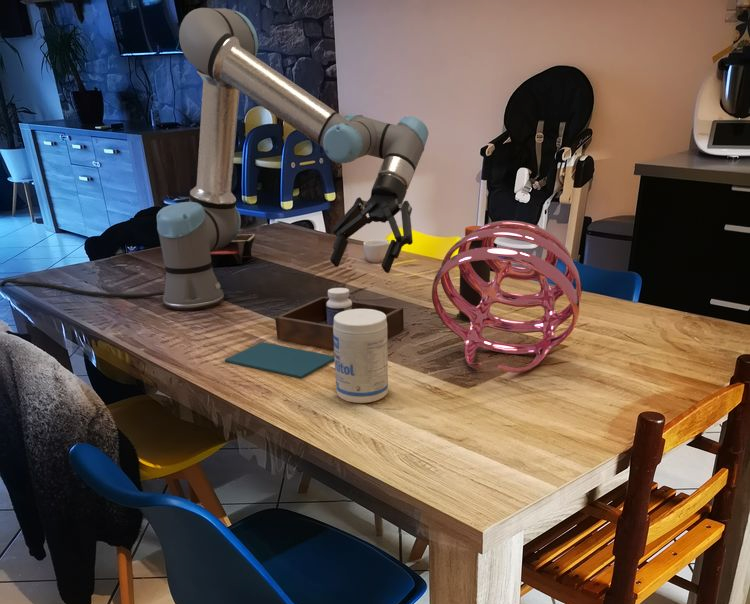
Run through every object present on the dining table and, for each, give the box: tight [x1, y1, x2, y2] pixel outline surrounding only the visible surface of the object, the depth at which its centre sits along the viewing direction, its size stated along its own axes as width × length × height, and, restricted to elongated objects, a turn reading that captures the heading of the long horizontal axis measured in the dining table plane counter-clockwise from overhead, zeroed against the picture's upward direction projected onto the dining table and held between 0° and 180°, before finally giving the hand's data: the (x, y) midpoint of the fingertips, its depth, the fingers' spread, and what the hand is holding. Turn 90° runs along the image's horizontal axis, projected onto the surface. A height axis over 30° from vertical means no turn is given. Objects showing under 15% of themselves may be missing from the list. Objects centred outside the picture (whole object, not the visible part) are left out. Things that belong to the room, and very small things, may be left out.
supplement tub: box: [333, 309, 389, 404], centre depth 134 cm, size 10×10×15 cm
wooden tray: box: [274, 295, 405, 351], centre depth 166 cm, size 22×18×5 cm
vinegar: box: [458, 225, 491, 322], centre depth 169 cm, size 7×7×20 cm
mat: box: [224, 341, 335, 379], centre depth 154 cm, size 20×12×1 cm, turn 57°
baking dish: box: [210, 233, 256, 267], centre depth 228 cm, size 14×18×10 cm
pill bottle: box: [326, 287, 353, 326], centre depth 164 cm, size 6×6×10 cm
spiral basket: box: [431, 220, 583, 374], centre depth 142 cm, size 28×28×27 cm
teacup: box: [362, 239, 390, 264], centre depth 223 cm, size 10×8×5 cm
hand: (358, 266), depth 166 cm, fingers open, 13 cm apart
